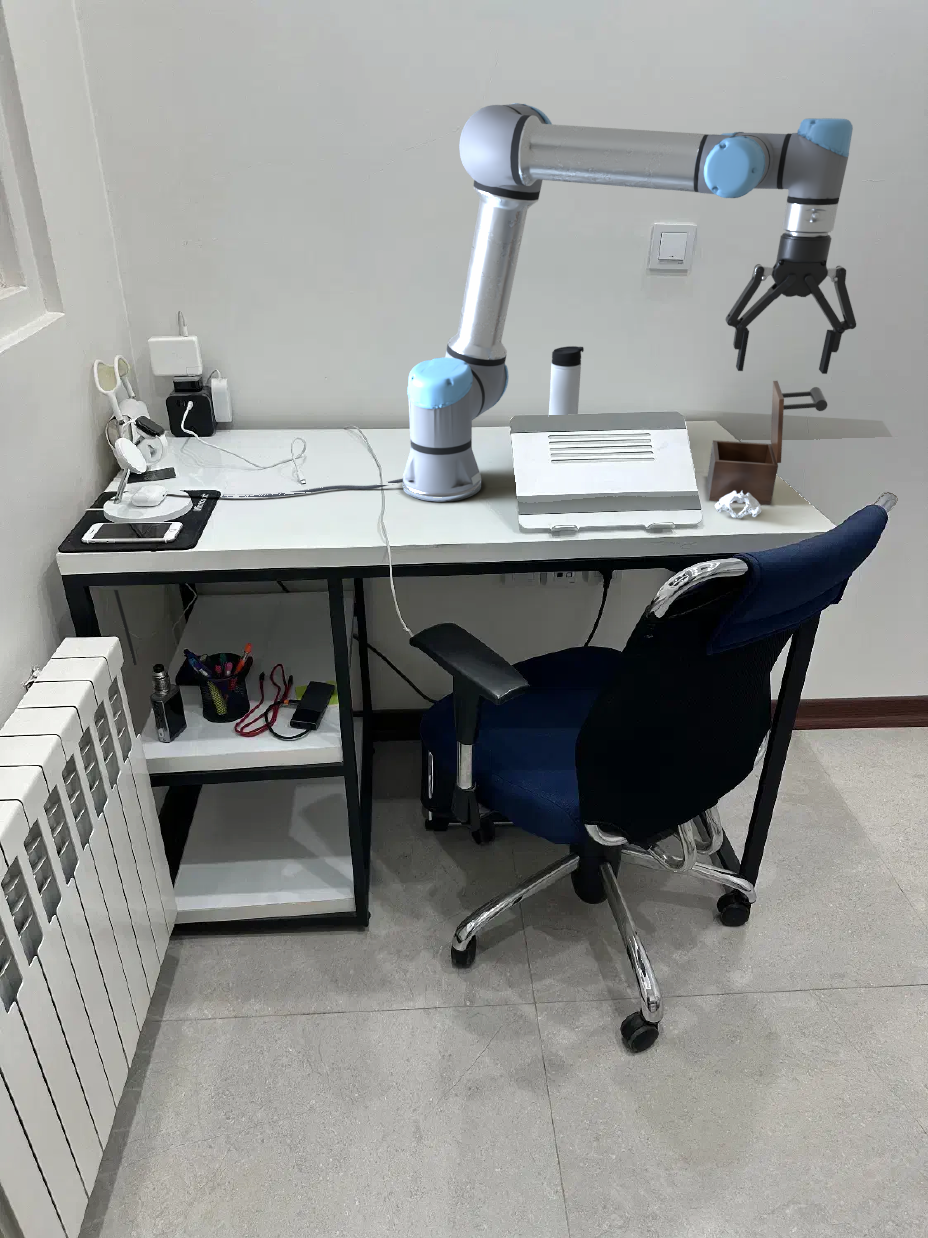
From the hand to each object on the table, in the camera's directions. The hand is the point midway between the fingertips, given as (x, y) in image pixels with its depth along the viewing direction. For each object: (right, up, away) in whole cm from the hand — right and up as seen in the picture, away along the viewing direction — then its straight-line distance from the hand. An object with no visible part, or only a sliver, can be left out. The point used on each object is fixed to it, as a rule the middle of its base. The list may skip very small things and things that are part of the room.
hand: (780, 370), depth 145 cm
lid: (+3, -6, +13) cm, 14 cm away
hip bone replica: (-4, -23, +11) cm, 26 cm away
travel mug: (-31, -2, +46) cm, 56 cm away
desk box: (-1, -17, +21) cm, 27 cm away
